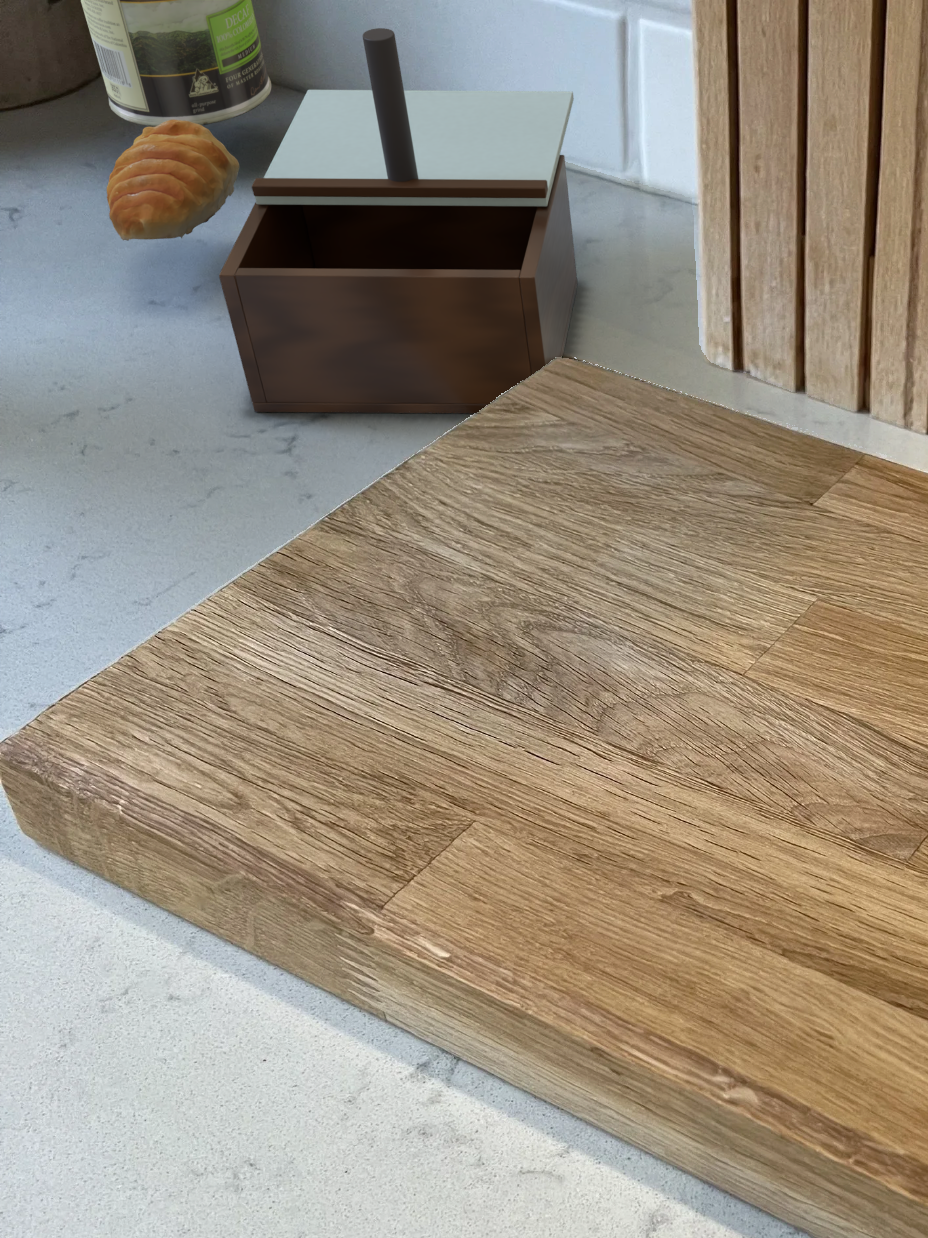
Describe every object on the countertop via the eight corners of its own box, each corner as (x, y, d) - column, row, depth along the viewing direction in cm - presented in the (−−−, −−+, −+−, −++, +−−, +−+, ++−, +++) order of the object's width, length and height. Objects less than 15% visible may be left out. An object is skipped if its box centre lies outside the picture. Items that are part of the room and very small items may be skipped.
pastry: (206, 252, 99) (188, 187, 96) (87, 252, 99) (66, 187, 96) (248, 177, 105) (232, 114, 102) (136, 176, 105) (118, 114, 103)
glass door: (255, 205, 93) (217, 44, 87) (309, 97, 103) (278, -55, 97) (547, 207, 93) (529, 45, 87) (573, 99, 103) (559, -53, 97)
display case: (254, 412, 94) (218, 275, 88) (309, 283, 104) (279, 152, 98) (551, 414, 94) (534, 277, 88) (577, 285, 104) (564, 154, 98)
